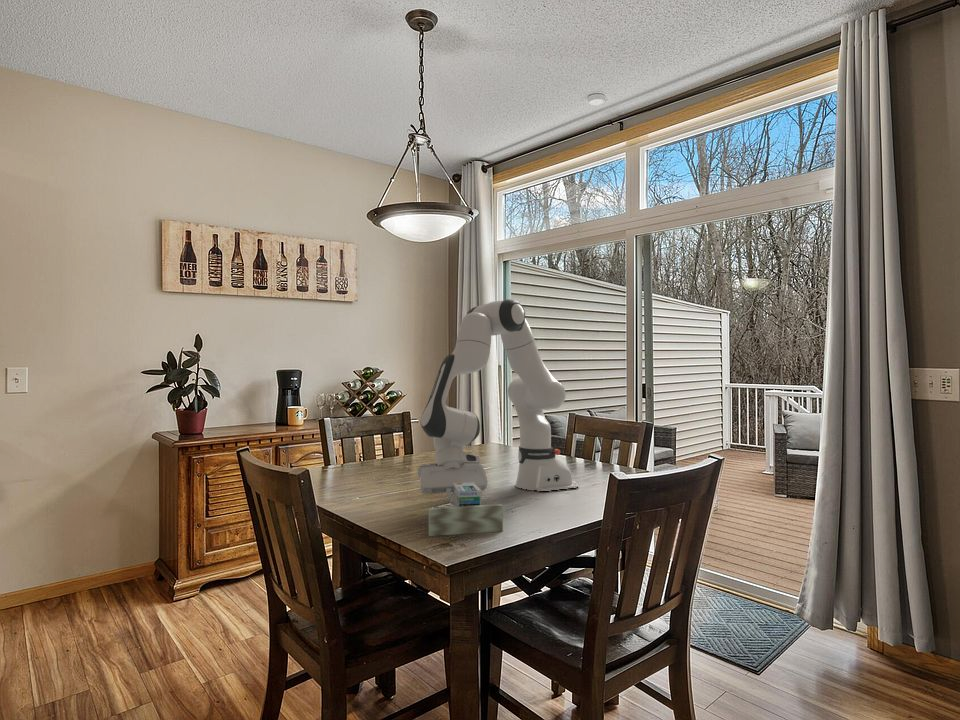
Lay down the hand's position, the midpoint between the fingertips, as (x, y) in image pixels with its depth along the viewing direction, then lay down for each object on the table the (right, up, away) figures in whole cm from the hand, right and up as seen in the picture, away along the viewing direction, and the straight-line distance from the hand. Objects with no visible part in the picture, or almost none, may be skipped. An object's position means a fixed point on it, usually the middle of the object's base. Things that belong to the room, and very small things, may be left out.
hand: (456, 503), depth 168 cm
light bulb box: (+3, -5, -5) cm, 8 cm away
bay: (+2, -4, -6) cm, 8 cm away
